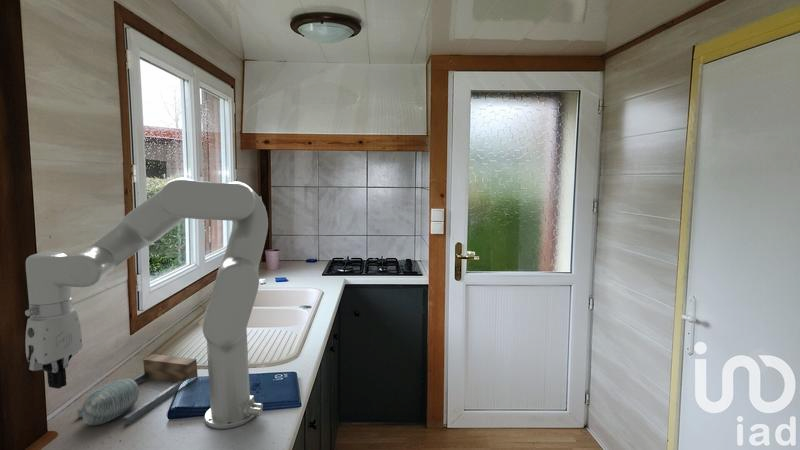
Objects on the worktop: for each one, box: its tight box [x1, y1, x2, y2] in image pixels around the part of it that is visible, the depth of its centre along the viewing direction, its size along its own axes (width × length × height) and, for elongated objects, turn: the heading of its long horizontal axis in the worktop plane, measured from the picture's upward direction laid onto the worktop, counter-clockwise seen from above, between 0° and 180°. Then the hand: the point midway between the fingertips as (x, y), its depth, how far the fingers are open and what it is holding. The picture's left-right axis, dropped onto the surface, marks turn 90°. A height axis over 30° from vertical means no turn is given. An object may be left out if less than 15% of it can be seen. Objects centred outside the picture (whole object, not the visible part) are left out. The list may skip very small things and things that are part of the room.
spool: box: [81, 378, 139, 426], centre depth 118 cm, size 14×10×10 cm
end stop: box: [142, 353, 199, 383], centre depth 138 cm, size 15×4×6 cm, turn 76°
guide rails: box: [76, 371, 188, 426], centre depth 126 cm, size 15×22×2 cm
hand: (57, 386), depth 104 cm, fingers closed
